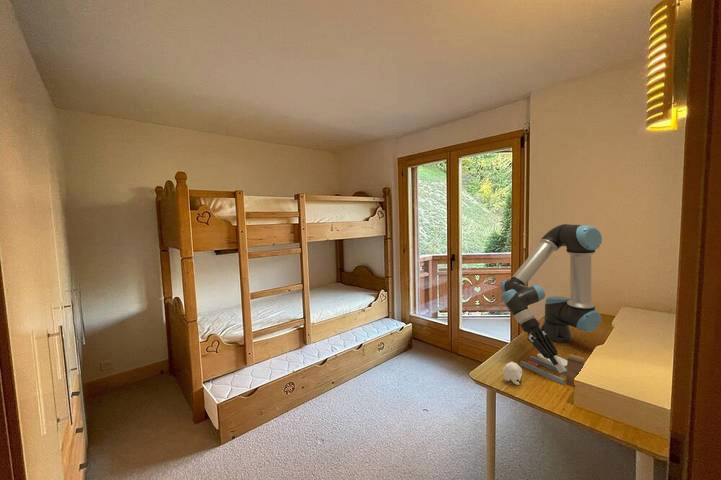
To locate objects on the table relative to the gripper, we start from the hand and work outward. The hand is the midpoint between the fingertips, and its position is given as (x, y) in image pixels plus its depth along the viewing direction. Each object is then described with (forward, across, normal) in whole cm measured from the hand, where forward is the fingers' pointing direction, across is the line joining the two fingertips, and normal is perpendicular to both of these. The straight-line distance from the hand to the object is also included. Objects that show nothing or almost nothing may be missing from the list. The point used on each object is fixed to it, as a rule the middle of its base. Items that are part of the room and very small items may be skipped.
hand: (563, 371), depth 124 cm
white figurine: (-5, +17, -11) cm, 21 cm away
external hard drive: (-4, -14, -10) cm, 18 cm away
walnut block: (+5, -2, 0) cm, 6 cm away
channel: (-2, -1, -8) cm, 8 cm away
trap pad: (-7, -1, -12) cm, 14 cm away
